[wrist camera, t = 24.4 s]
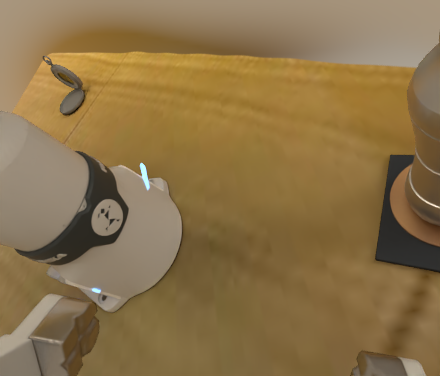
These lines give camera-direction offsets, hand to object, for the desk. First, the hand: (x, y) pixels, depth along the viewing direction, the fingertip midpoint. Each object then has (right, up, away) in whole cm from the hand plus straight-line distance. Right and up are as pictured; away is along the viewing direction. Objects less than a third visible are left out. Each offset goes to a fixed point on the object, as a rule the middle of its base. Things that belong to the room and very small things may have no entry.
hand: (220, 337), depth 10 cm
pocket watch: (-32, +24, +61) cm, 73 cm away
